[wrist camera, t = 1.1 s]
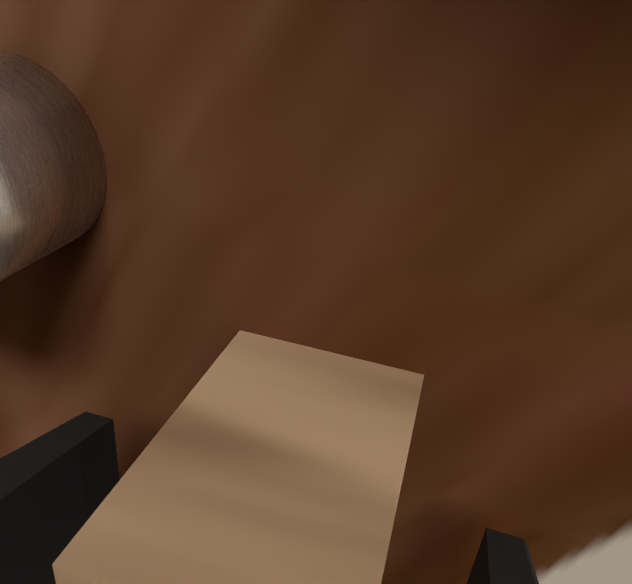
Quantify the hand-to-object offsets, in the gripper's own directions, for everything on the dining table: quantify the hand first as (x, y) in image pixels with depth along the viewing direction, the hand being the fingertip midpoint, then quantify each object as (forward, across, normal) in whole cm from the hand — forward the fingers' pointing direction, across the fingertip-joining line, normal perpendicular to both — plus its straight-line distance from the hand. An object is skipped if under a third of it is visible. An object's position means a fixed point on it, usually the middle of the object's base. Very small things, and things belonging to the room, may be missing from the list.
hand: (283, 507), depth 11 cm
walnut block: (+2, 0, 0) cm, 3 cm away
